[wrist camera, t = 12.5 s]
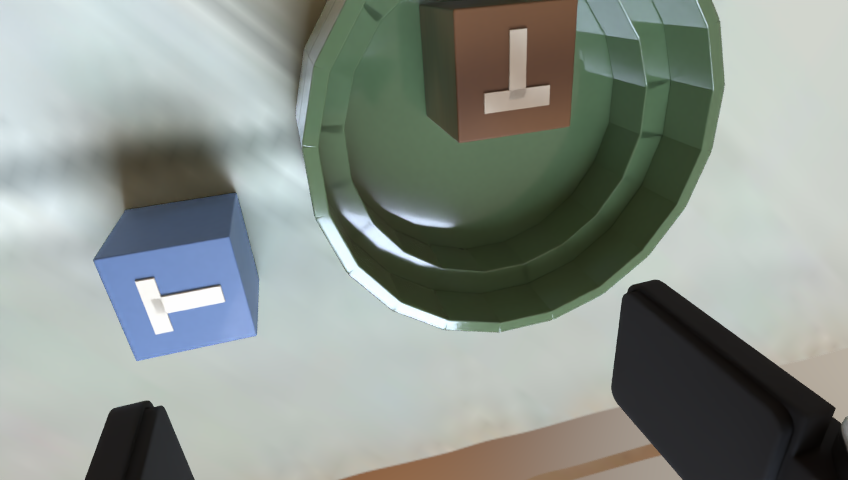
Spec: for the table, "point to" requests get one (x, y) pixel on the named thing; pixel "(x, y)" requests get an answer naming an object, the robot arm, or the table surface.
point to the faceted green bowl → (505, 163)
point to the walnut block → (498, 66)
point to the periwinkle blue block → (181, 275)
